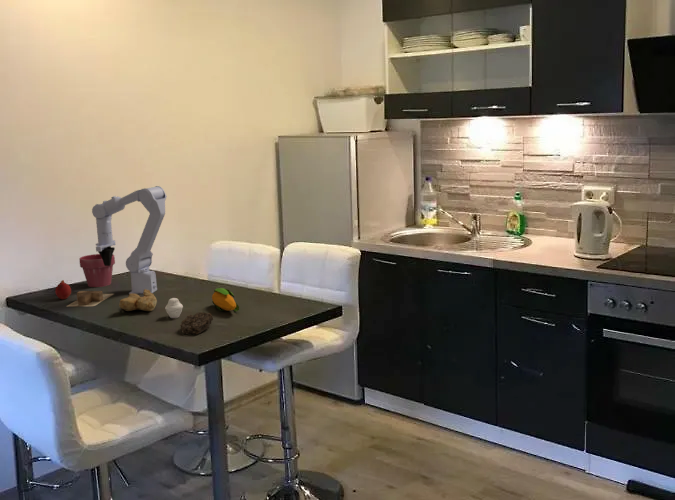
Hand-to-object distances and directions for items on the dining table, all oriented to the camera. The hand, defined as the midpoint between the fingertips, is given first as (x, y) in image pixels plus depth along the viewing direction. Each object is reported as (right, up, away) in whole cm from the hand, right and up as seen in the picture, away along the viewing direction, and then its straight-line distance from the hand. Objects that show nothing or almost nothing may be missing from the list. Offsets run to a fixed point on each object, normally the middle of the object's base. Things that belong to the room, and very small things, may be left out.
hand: (107, 265), depth 301 cm
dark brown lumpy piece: (+47, -20, -58) cm, 78 cm away
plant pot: (-7, -9, +11) cm, 16 cm away
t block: (-2, -14, -20) cm, 24 cm away
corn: (+54, -16, -34) cm, 66 cm away
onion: (-13, -14, -12) cm, 23 cm away
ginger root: (+22, -16, -31) cm, 41 cm away
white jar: (+37, -17, -42) cm, 58 cm away
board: (-2, -14, -16) cm, 21 cm away
